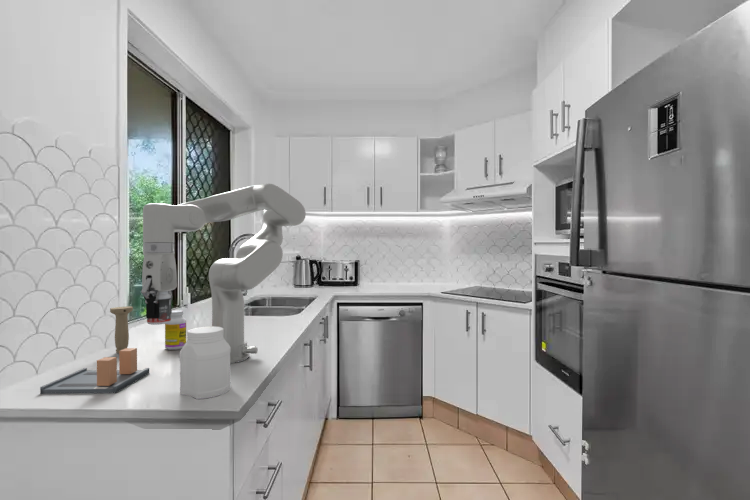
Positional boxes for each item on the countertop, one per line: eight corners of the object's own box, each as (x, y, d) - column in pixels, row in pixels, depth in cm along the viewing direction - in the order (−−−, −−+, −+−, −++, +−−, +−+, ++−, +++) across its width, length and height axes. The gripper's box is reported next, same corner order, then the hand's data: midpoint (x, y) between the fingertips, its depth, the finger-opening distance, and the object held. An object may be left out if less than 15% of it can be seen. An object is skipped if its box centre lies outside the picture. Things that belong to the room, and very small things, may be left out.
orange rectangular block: (137, 370, 112) (136, 348, 112) (130, 374, 109) (130, 351, 109) (126, 370, 112) (125, 348, 111) (119, 374, 109) (119, 351, 108)
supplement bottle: (180, 350, 138) (180, 312, 138) (161, 350, 138) (160, 312, 138) (189, 345, 145) (189, 309, 145) (171, 345, 145) (171, 309, 145)
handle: (135, 351, 136) (135, 307, 136) (114, 356, 131) (113, 309, 131) (129, 349, 139) (128, 305, 139) (108, 353, 134) (107, 308, 134)
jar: (173, 392, 99) (172, 330, 99) (206, 381, 107) (206, 324, 107) (204, 401, 93) (204, 336, 93) (237, 388, 101) (237, 328, 101)
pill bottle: (146, 325, 106) (146, 287, 106) (147, 322, 111) (147, 285, 111) (171, 323, 109) (171, 286, 109) (170, 320, 114) (170, 285, 114)
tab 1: (116, 381, 103) (116, 357, 103) (109, 385, 100) (109, 360, 100) (104, 381, 103) (104, 357, 102) (96, 385, 100) (96, 360, 99)
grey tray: (149, 373, 113) (149, 367, 113) (115, 393, 98) (115, 386, 98) (83, 374, 113) (83, 368, 113) (40, 393, 98) (40, 387, 98)
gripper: (156, 249, 101) (156, 322, 101) (187, 249, 119) (187, 311, 119) (126, 249, 101) (126, 322, 101) (161, 249, 118) (161, 311, 119)
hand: (159, 315), depth 110 cm, fingers closed on pill bottle, 5 cm apart
